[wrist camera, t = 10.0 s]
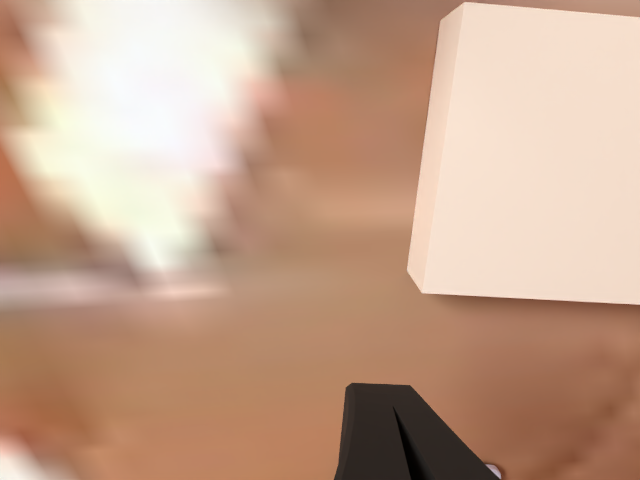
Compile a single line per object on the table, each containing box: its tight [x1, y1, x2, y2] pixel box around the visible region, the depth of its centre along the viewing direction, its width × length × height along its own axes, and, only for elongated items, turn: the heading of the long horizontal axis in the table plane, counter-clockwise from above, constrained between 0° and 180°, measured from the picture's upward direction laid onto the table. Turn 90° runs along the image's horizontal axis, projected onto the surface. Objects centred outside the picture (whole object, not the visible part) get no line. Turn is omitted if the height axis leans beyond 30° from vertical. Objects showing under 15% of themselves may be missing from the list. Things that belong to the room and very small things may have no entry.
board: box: [407, 2, 640, 305], centre depth 16 cm, size 10×12×2 cm
